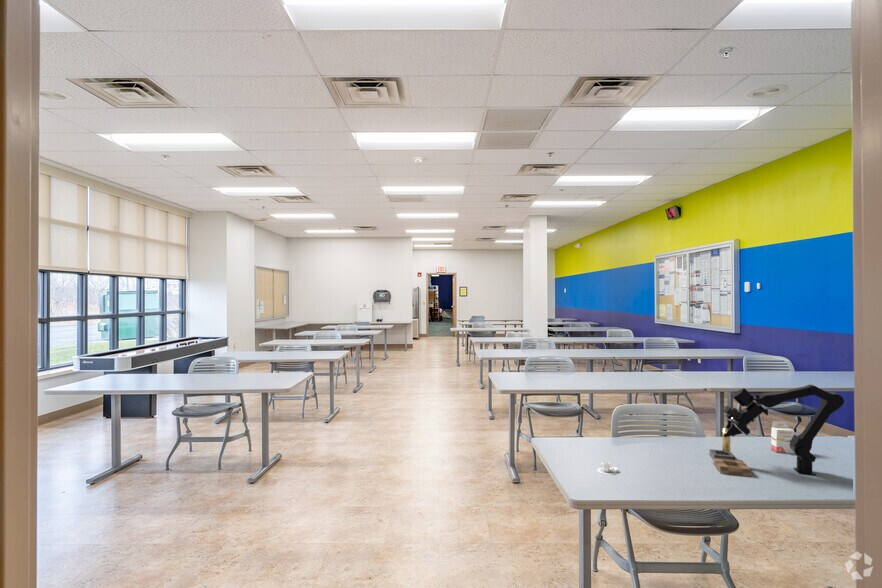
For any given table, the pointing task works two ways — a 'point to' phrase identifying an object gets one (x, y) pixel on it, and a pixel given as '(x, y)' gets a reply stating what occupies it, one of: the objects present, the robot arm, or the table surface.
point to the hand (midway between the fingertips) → (723, 435)
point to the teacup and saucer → (607, 468)
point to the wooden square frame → (731, 467)
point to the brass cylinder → (726, 441)
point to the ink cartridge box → (781, 437)
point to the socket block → (721, 454)
